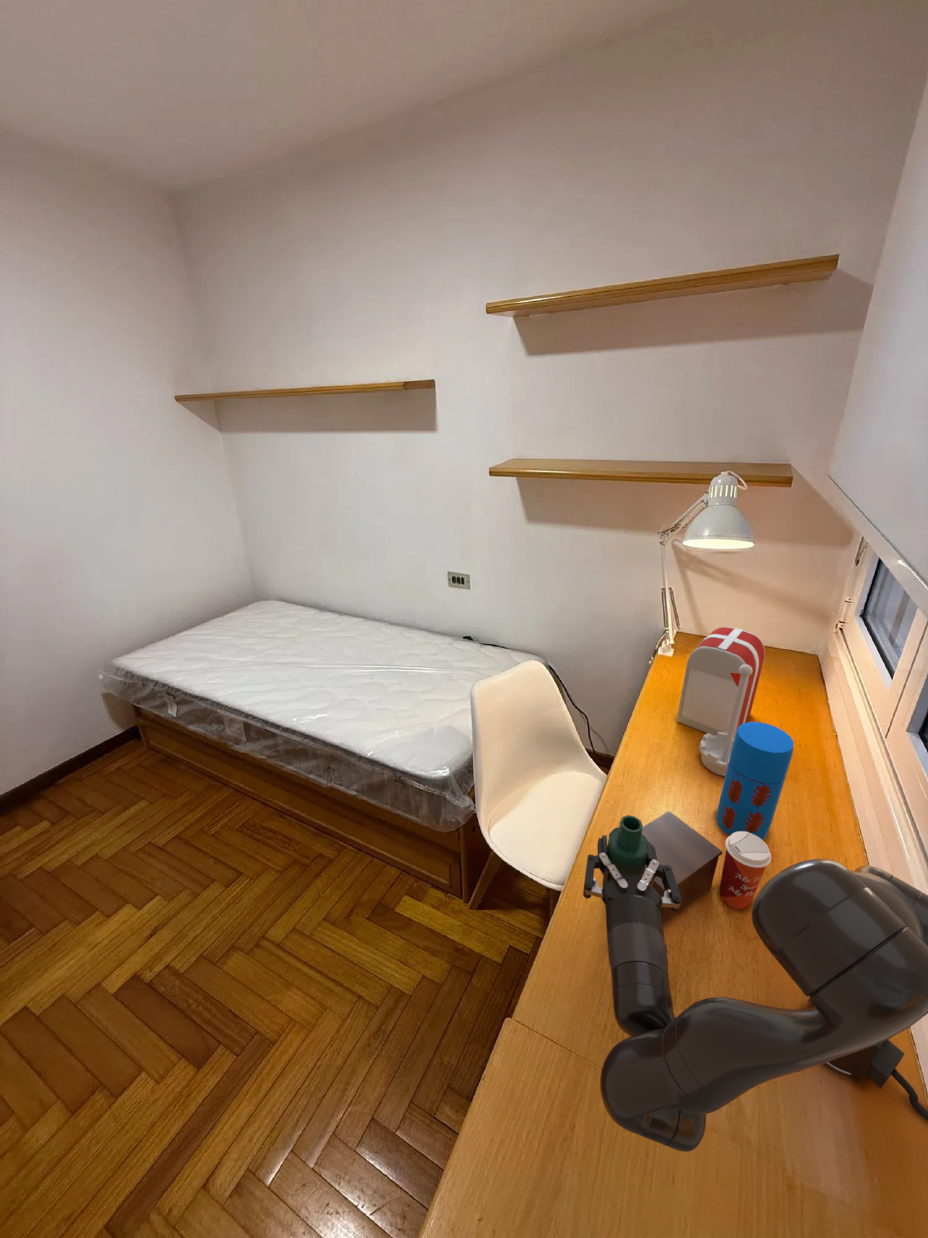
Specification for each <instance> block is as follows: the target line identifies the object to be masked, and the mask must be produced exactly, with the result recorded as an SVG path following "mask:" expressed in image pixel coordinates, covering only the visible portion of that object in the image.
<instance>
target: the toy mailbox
mask: <svg viewBox="0 0 928 1238" xmlns="http://www.w3.org/2000/svg"><path fill="white" fill-rule="evenodd" d="M765 656H766V651H765V645H764V643H763V641H762V639H760V637H759V636H757V635H756V634H754V633H751V632H748V631H747V630H746V631H745V630H743V629H741V628H737V627H735V628H734V627H728V626H720V627H718V628H715V629H714V630H713V631H711V632H710V633H709V634H708V636H705V638H703V639H702V641H700V643H699V644H698V645H697V647H696V648H695V649H693V651H692V652H691V653H690V655H689V657H688V659H687V662H686V665H685V672H684V676H683V677H684V678H683V683H682V689H681V695H680V700H679V705H678V710H677V716H676V722H678V723H681V724H683V725H686V726H688V727H691V728H694V729H696V730H699V731H701V732H704V733H705V734H707V733H710V734H711V735H717V732H725V733H727V732H728V728H729V724H730V719H731V715H732V711H733V707H734V702H735V698H736V694H737V690H738V687H737V685H736V683H735V682H734V680H733V678H732V676H731V674H730V673H739V668H740V666H742V665H749V666H750V667H751V668H752V674H751V675H750V676H748V678H747V682H746V686H745V690H744V694H743V698H742V702H741V707H740V711H739V715H738V719H737V723H736V727H735V731H734V736H733V738H734V739H735V735H736V732H737V729H738V727H739V726H740V725H742V724H743V723H747V721H748V720H749V719H750V717H751V714H752V709H753V705H754V702H755V697H756V693H757V690H758V686H759V681H760V678H761V674H762V671H763V670H762V669H763V666H764V662H765ZM739 674H740V673H739Z"/></svg>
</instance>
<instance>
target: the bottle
mask: <svg viewBox="0 0 928 1238" xmlns="http://www.w3.org/2000/svg"><path fill="white" fill-rule="evenodd" d="M643 827H644V826H643V823H642V821H641V819H639V818H638V817H636V816H635V815H631V814H628V815H627V814H626V815H624V816H622V817H621V819H620V820H619V826H617V827H615V828H613V829H612V830H611V831H610V832H609V834H608V838H607V848H608V858H609V860H610V861H611V863H614V865H615V866H616V868H617V869H618V871H620V872H626V873H628V874H641V876H643V874H644V871H645V866H646V860H647V855H648V848H649V843H648V841H647V839H646V837H645V836H644V835H643V834H642V828H643ZM601 885H602V888H603V887H604V886H605V885H606V882H605V880H604V876H603V875H602V884H601Z"/></svg>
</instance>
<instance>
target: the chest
mask: <svg viewBox="0 0 928 1238" xmlns="http://www.w3.org/2000/svg"><path fill="white" fill-rule="evenodd" d="M719 858H720V856H719V857H717V858H716V859H715V860H713V861H712V862H711V863H709V864H708V865H707V866H705V867H704V868H703V869H701V870H700V871H698V872H697V873H696V874H694V875H693V876H692V877H690V878H689V879H688V880H686V881H685V882H683V883H682V884H681V885H679V886H678V889H679V892H680V895H681V903H680V907H679V911H677V912H674V911H672V910H671V908H670V907H661V909H660V912H661V918H662V925H665V924H666V923H668V922H669V921H671V919H673V918H674V917H675V916H677V915H678V914H679V913H681V912H682V911H683V910H684V909H686V908H687V907H689V905H691V904H692V903H693V902H695V901H696V900H697V899H698V898H700V897H701V896H702V895H704V894H705V893H706V892H707V891H709V890H710V889H711V888H712V885H713V882H714V878H715V875H716V870H717V867H718V862H719ZM652 887H653V888H654V889H655V890H656V891H657V892H658V893H659V895H660V896H661V897H663V896H664V893H663V892H662V891H661V890H660V889H659V888H658V887H657V886H656V885H655V884H654V883H653V884H652Z"/></svg>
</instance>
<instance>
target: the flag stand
mask: <svg viewBox="0 0 928 1238" xmlns="http://www.w3.org/2000/svg"><path fill="white" fill-rule="evenodd" d="M739 673H740V674H739ZM739 673H730V674H731V676H732V678H733V680H734V682H735V683H736V685H737V687H738V690H737V694H736V698H735V702H734V707H733V711H732V715H731V719H730V724H729V728H728V732H727V733H725V732H717V735H712V734H710V733H705V734H703V735H702V738H701V740H700V742H699V747H698V750H699V753H700V755H701V762H702V764H703V765H704V767H706V768H707V769H708V770H709V771H711V772H713V773H714V774H715V775H719V776H722V777H725V776H726V772H727V768H728V764H729V759H730V755H731V751H732V747H733V743H734V738H733V736H734V731H735V727H736V723H737V719H738V715H739V711H740V707H741V702H742V698H743V694H744V690H745V686H746V682H747V678H748V676H750V675H751V674H752V668H751V667H750V666H749V665H742V666H740V668H739Z"/></svg>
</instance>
